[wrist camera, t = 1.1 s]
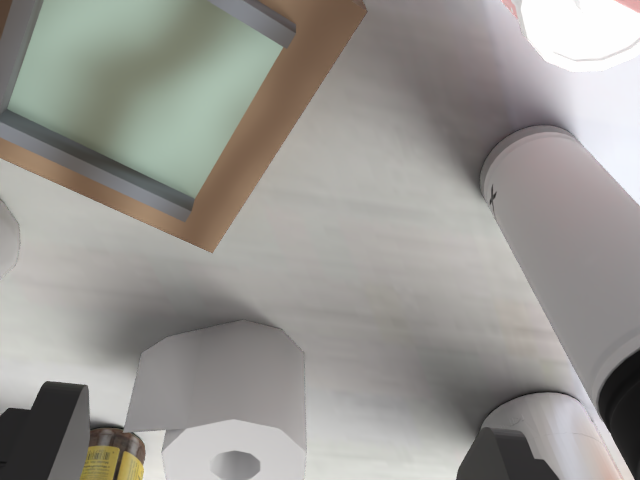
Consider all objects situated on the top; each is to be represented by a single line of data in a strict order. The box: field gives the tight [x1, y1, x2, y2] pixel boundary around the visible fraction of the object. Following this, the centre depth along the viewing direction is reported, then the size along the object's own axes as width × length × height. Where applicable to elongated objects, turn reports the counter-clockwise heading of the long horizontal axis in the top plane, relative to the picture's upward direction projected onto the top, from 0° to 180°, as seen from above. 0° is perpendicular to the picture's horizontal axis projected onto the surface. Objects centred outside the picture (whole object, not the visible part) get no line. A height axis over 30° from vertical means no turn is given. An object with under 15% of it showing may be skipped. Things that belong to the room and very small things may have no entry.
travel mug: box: [480, 125, 640, 480], centre depth 27 cm, size 6×7×20 cm
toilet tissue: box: [123, 320, 307, 480], centre depth 41 cm, size 9×13×9 cm
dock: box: [0, 0, 367, 253], centre depth 28 cm, size 15×16×4 cm
